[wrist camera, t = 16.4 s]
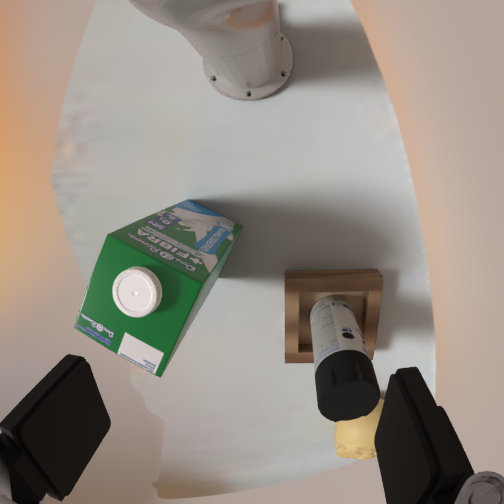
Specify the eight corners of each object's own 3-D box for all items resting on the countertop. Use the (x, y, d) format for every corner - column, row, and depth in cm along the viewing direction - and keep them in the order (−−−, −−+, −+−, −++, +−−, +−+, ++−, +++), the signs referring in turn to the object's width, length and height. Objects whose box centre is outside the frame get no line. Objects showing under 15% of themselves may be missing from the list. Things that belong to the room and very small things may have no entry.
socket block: (284, 271, 48) (284, 279, 44) (377, 269, 46) (383, 277, 43) (285, 351, 51) (284, 363, 48) (368, 348, 50) (372, 360, 46)
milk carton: (242, 225, 46) (195, 296, 23) (217, 278, 49) (159, 379, 25) (187, 198, 46) (92, 240, 22) (165, 252, 49) (72, 329, 25)
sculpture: (328, 431, 56) (331, 472, 46) (338, 388, 53) (345, 430, 42) (381, 429, 55) (391, 468, 45) (397, 386, 52) (412, 426, 41)
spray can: (354, 328, 48) (383, 416, 29) (312, 336, 49) (321, 429, 30) (349, 290, 46) (382, 370, 27) (305, 299, 47) (313, 384, 28)
